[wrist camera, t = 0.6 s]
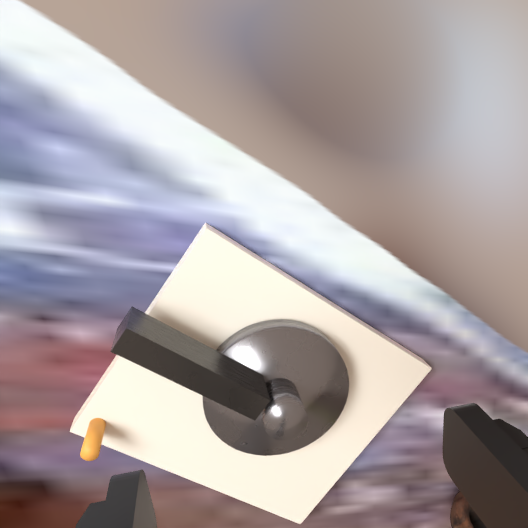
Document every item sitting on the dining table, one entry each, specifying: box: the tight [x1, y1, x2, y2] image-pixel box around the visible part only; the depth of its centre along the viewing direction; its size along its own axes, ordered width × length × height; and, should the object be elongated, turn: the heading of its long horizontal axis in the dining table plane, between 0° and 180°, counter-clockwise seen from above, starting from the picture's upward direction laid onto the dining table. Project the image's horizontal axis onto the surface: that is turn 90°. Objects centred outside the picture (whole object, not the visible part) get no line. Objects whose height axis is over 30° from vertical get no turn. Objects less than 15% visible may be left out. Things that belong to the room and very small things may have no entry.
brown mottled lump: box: [450, 492, 487, 528], centre depth 43 cm, size 12×10×8 cm
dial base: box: [70, 223, 432, 524], centre depth 34 cm, size 22×18×4 cm
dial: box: [111, 307, 349, 456], centre depth 31 cm, size 18×11×4 cm, turn 55°
